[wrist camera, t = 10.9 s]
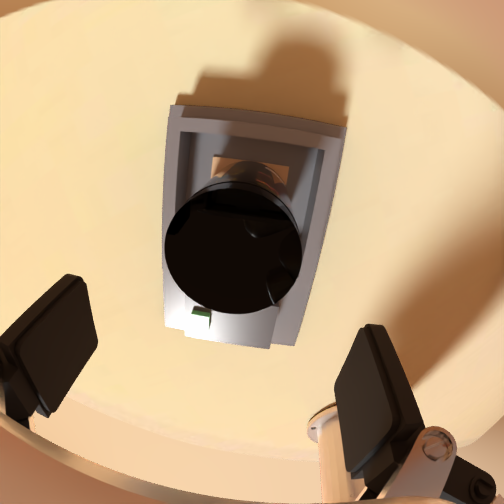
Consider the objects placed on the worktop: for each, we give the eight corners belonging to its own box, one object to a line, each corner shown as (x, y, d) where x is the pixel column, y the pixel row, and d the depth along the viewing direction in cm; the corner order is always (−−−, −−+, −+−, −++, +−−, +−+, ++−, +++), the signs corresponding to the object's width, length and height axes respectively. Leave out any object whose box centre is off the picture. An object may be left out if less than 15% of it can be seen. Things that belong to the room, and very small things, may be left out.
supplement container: (190, 205, 24) (140, 262, 14) (241, 141, 21) (218, 156, 12) (252, 254, 25) (242, 334, 16) (307, 196, 23) (332, 252, 13)
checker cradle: (343, 127, 21) (360, 129, 17) (293, 339, 31) (296, 370, 27) (174, 105, 21) (153, 102, 17) (167, 320, 31) (154, 348, 27)
